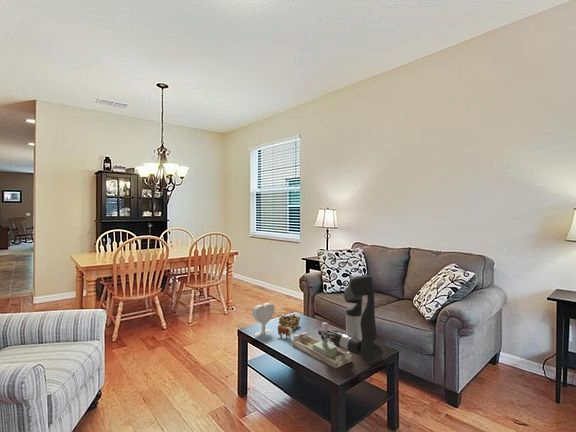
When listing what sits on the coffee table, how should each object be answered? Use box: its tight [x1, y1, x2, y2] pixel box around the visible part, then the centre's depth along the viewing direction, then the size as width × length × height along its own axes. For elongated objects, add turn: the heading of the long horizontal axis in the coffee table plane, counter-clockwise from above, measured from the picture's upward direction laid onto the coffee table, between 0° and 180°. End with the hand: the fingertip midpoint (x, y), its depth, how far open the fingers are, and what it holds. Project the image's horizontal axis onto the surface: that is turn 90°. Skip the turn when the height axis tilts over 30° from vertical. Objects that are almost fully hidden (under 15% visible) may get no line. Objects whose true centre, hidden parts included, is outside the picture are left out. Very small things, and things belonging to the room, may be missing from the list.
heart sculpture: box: [251, 302, 275, 336], centre depth 206 cm, size 16×5×18 cm, turn 132°
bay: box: [291, 331, 353, 369], centre depth 175 cm, size 12×34×6 cm, turn 39°
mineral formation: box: [278, 313, 301, 330], centre depth 216 cm, size 8×13×15 cm
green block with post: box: [313, 322, 338, 358], centre depth 172 cm, size 8×10×17 cm
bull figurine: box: [277, 324, 295, 339], centre depth 196 cm, size 4×13×8 cm, turn 41°
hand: (321, 331), depth 174 cm, fingers closed on green block with post, 3 cm apart
